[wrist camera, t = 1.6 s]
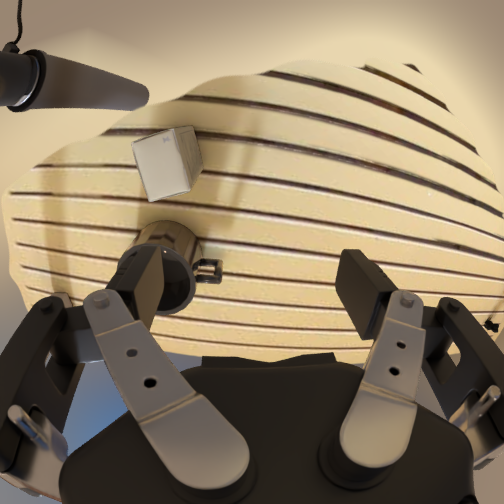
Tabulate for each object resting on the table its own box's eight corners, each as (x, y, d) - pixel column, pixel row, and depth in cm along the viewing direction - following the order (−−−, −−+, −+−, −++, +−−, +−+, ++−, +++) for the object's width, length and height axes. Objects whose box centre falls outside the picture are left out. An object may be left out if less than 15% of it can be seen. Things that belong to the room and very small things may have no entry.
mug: (138, 280, 42) (122, 311, 35) (132, 218, 37) (111, 241, 30) (222, 287, 43) (220, 319, 36) (225, 223, 39) (223, 247, 31)
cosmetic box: (161, 134, 33) (128, 139, 22) (193, 124, 32) (172, 124, 21) (174, 179, 35) (147, 204, 24) (205, 170, 35) (191, 192, 24)
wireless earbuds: (480, 323, 54) (490, 334, 50) (484, 316, 53) (494, 327, 49) (490, 324, 55) (499, 334, 51) (495, 317, 54) (504, 327, 50)
